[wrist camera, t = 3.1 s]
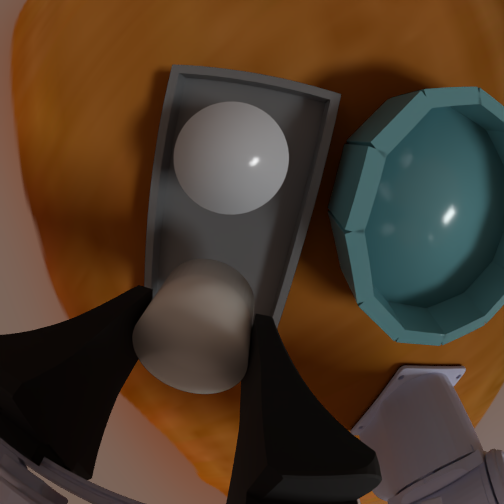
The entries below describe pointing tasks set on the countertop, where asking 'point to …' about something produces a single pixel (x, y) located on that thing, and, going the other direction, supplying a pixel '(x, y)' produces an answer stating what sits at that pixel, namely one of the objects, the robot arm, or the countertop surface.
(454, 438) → the robot arm
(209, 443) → the countertop surface
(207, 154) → the white pebble
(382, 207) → the bowl
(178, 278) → the pale stone
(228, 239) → the parts tray
